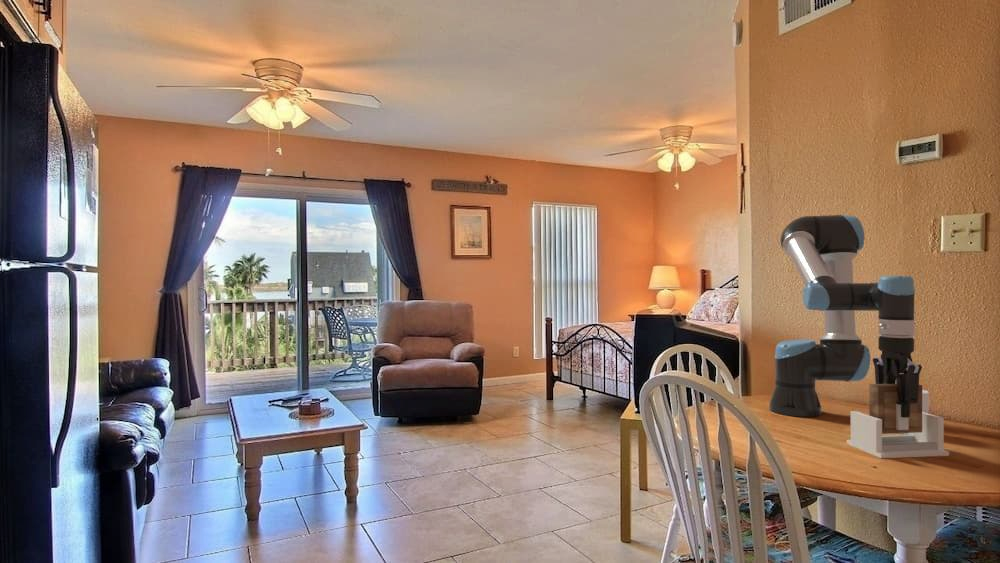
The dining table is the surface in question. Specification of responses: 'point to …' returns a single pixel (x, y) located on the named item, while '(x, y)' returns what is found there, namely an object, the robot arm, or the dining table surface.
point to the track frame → (897, 438)
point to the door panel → (893, 408)
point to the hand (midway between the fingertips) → (896, 427)
